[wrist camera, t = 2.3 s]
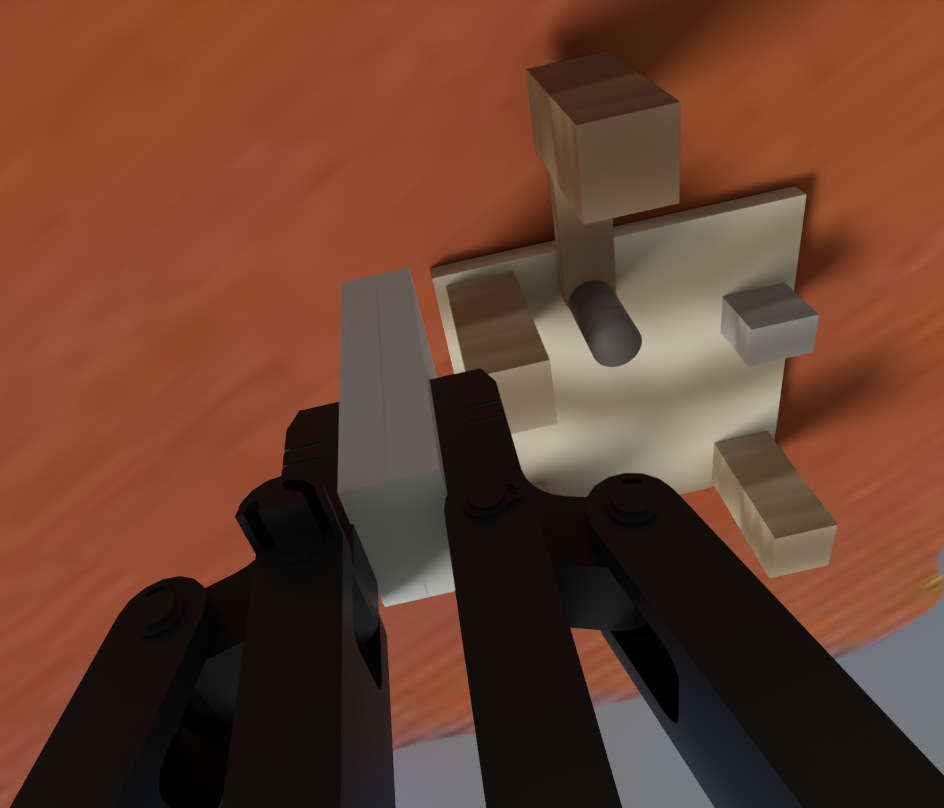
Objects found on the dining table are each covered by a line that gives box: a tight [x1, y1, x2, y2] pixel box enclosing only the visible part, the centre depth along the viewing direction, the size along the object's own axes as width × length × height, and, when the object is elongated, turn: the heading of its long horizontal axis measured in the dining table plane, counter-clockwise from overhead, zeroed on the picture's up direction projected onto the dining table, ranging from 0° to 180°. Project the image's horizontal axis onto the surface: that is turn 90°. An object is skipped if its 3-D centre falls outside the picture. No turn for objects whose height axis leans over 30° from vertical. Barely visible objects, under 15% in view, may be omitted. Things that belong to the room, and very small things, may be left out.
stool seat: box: [430, 186, 837, 578], centre depth 33 cm, size 17×16×8 cm
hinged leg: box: [526, 51, 681, 367], centre depth 26 cm, size 10×3×7 cm, turn 10°
